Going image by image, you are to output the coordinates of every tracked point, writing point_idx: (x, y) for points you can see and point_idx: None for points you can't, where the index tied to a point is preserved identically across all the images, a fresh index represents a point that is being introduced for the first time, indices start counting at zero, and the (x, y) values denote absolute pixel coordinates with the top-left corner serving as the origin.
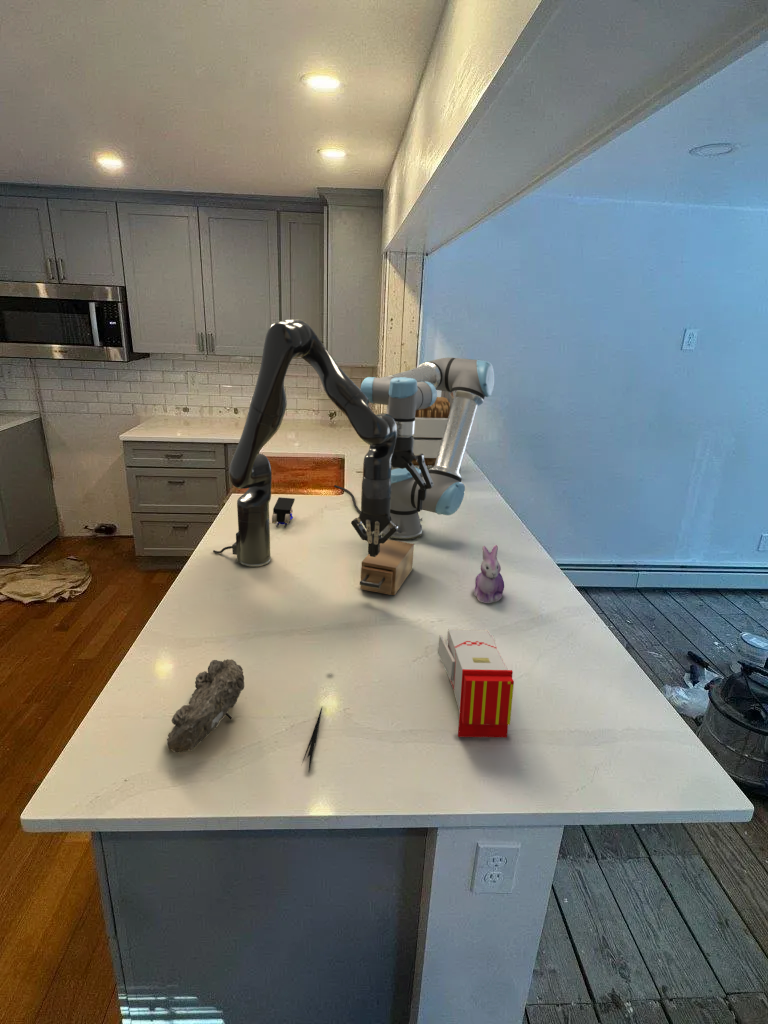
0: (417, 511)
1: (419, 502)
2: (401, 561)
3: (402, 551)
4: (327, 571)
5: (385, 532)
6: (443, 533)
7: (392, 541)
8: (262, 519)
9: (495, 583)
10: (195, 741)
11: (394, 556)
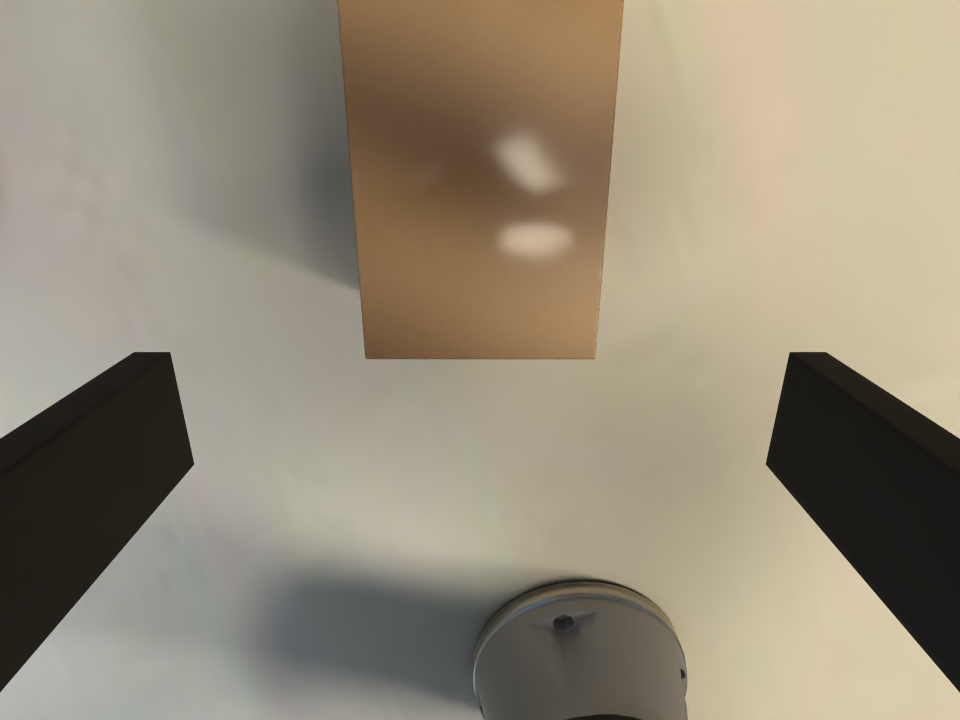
0: (157, 353)
1: (45, 417)
2: (340, 18)
3: (392, 195)
4: (844, 78)
5: (637, 609)
6: (387, 710)
7: (515, 338)
8: None
9: None
10: None
11: (416, 74)
